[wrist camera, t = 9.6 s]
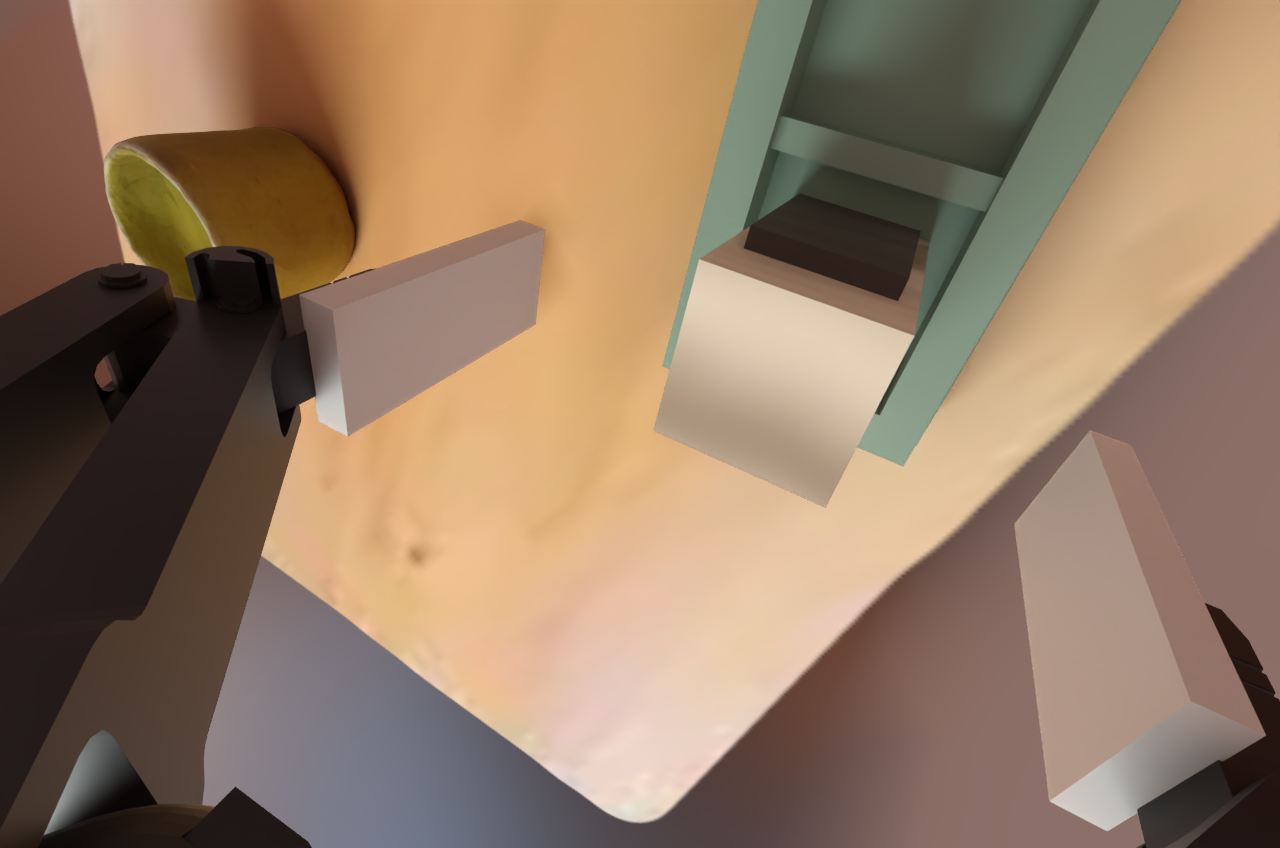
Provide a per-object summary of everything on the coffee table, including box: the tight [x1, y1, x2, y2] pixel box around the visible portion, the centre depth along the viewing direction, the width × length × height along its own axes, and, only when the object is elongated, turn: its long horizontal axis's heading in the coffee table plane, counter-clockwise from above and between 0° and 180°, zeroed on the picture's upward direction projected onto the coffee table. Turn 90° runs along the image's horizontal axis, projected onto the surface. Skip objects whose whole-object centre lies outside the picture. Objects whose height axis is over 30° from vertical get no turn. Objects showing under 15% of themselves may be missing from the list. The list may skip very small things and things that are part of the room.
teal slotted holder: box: [663, 0, 1181, 466], centre depth 15 cm, size 26×11×12 cm, turn 167°
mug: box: [104, 127, 355, 301], centre depth 33 cm, size 12×10×10 cm
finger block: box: [654, 194, 930, 508], centre depth 18 cm, size 6×5×10 cm
